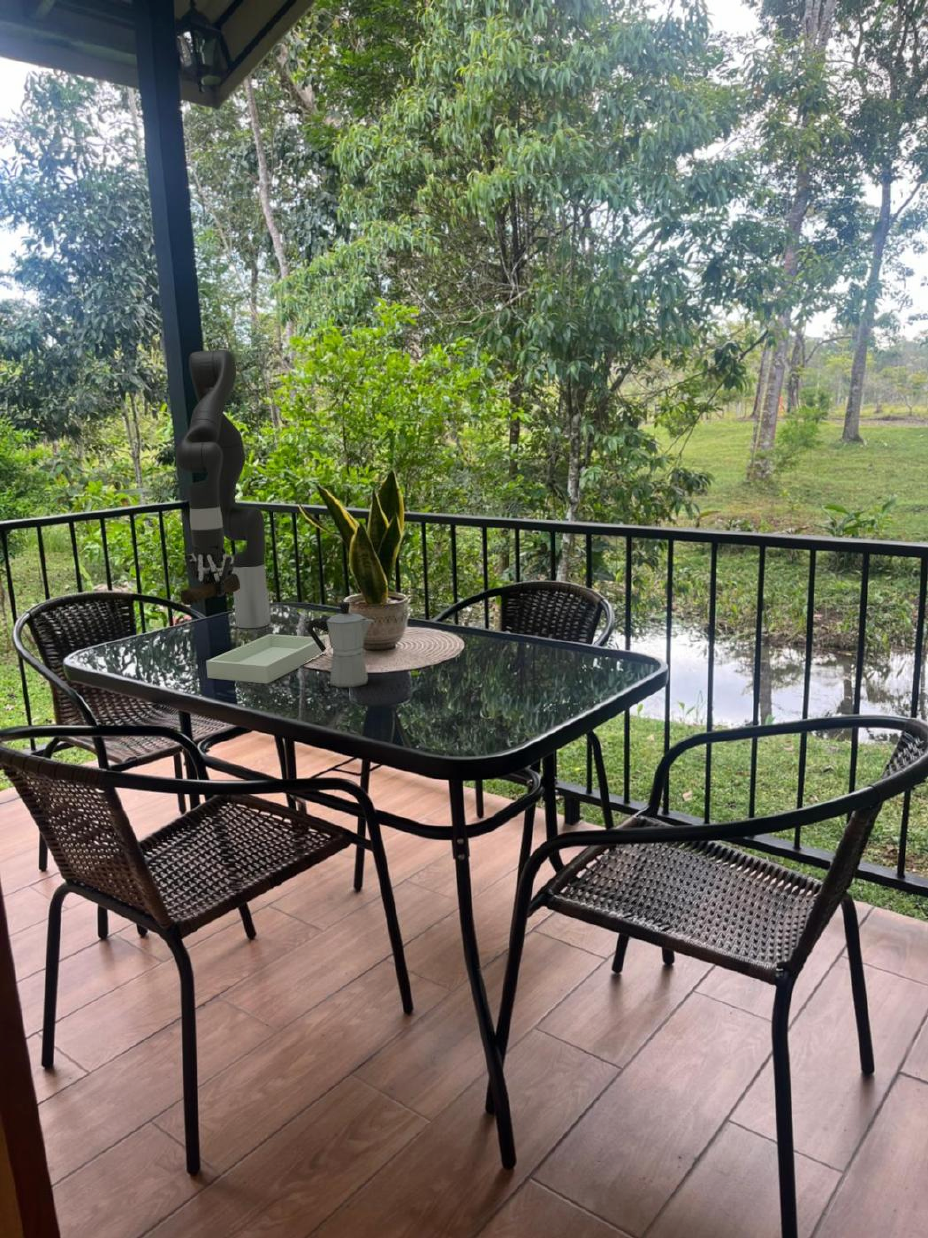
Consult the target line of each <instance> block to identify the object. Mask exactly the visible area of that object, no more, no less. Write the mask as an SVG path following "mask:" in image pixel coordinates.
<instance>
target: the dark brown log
mask: <svg viewBox="0 0 928 1238" xmlns="http://www.w3.org/2000/svg"><path fill="white" fill-rule="evenodd" d="M215 582H216V581H213V582H210V584H207V585H203V586H201V585H199V586H196V587H192V588H189V589H188V588H187V589H182V590H180V600H181V603H182V604H183V605H184V606H191V605H193V604H194V603H195V604H197V603H198V602H199V601H202V600H205V599H209V598H211V597H215V596H216V597H217V594H216V584H215ZM238 589H240V581H239V578H238V576H237V575H236V574H232V575H231V577H230V578H228V579H225V593H224V595H231V594H233V592H235V591H237V590H238Z"/></svg>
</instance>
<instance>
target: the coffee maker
mask: <svg viewBox="0 0 928 1238" xmlns="http://www.w3.org/2000/svg"><path fill="white" fill-rule="evenodd" d="M350 603H351V602H349V601H342V602H339V603H338V605H339V606H338V607H339V609H340V612H341V613H338V614H335V615H332V616H330V615H322V616H321V617H320V618H313V619H310V621H309V623H308V625H307V628H306V631H307V632H308V634H309V635H310V637H312V638H313V639H314V641H315V642H316V644H317V645H318V647H319V648H320V649H321V651H322V652H323V651H324V650H325V649H327V647H326V645H325V646H324V644H323V643H322V641H321V640H320V639H319V638H320V637H319V636H318V634H317V633H316V631H315V630H314V629H315V628H316V629H318V630H321V631H324V632H327V635H328V640H329V646H330V648H331V649H333V650H332V656H331V657H332V658H331V669H330V677H329V678H330V679H329V685H330V686H334V687H337V688H355V687H359V686H363V685H367V683H368V682H369V681H368V680H369V676H368V672H367V667H366V664H365V658H364V653H363V651H362V648H363V647H364V641H365V637H366V635H367V633H368V630H369V628H370V627H371V624H372V623H374V622H375V620H374V619H370V618H367V617H365V616H364V615H362V614H358V613H352V612H350V605H351V604H350Z"/></svg>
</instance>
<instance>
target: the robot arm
mask: <svg viewBox="0 0 928 1238" xmlns="http://www.w3.org/2000/svg"><path fill="white" fill-rule="evenodd" d="M188 362H189V363H188V365H189V373H190V376H191V377H190V378H191V381H192V384H193V389H194V391H195V392H194V393H195V395H196V399H197V404H196V406H195V407H194V409H193V411H192V415H191V419H190V423H189V428H188V430H187V432H186V433H185V435H184V437H183V438H182V440H181V442H180V443H179V445H178V448H177V450H176V456H175V457H176V464H177V466H178V467H179V469H180V470H181V471H183V472H185V473H190V474H192V473H207V476H206V477H205V479H204V480H202V481H197V482H193V483H191V484H190V485H188V487H187V491H188V492H187V494H188V503H189V523H190V524H189V525H190V532H191V542H192V546H193V548H194V549H193V552H192V553H191V554H187V555H185V556H184V560H185V562H186V565H187V567H188V569H189V572H190V574H191V576H192V578H193V579H198V581H200V586H203V585H207V584H210V583H211V581H210V579H209V578H210V571H211V573H212V574H213V576H214V579H215V581H214V582H215V584H216V594H217V595H216V597H224V596H225V594H224V593H225V579H228V578H230V577H231V575H232V574H236V575H237V576H238V578H239V581H240V589H238V590H237V591H235V592H233V593H232V594H233V601H234V602H233V604H234V615H235V624H236V625H235V626H236V628H240V629H256V628H262V627H266V626H268V625H270V622H272V618H271V607H270V595H269V594H270V593H269V589H268V588H267V587H268V585H267V578H266V576H267V575H266V563H265V556H266V540H265V539H266V536H265V535H266V534H265V532H266V531H265V528H266V527H265V518H264V514H263V512H262V511H261V510H260V508H258V507H253V506H252V507H251V506H250V507H249V506H248V507H247V506H241V507H240V506H237V503H236V495H235V494H236V487H237V484H238V481H239V479H240V476H241V475H242V472H243V469H244V467H245V463H246V454H245V447H244V443H243V439H242V435H241V433H240V431H239V430H238V428H237V426H236V425H235V424H234V423H233V422H232V421H231V420H230V419H229V418H228V417H227V415H225V413H224V411H225V408H226V406H227V404H228V401H229V399H230V396H231V395H232V394H231V393H232V391H233V388H234V386H235V383H236V378H237V365H236V361H235V358H234V355H233V354H232V352H231V351H229V350H227V349H215V350H202V351H195V352H192V353H191V354H190V355H189V359H188ZM225 539H227V540H228V541H233V542H235V541H237V542H238V541H240V542H241V541H242V542H245V541H246V544H245V545H246V546H245V548H244V549H243V550H242V551H240V552H237V553H234V554H232V555H229V554H228V553H227V552H226V550H225V548H224V545H225Z"/></svg>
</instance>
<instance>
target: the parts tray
mask: <svg viewBox="0 0 928 1238" xmlns="http://www.w3.org/2000/svg"><path fill="white" fill-rule="evenodd" d="M319 639H320V640H321V641H322V643H323V644H324V646H325V647H326V637H319ZM326 649H327V648H326ZM326 649H325V650H326ZM325 650H324V651H325ZM324 651H323V652H324ZM326 651H327V650H326ZM321 653H322V651H321V649H320V648H319V647H318V645H317V644H316V642H315V641H314V639H313V638H312V637H311V636H301V635H288V634H273V633H270V634H266V635H264V636H262V637H260V638H257V639H254V640H253V641H249V642H247V643H245V644H243V645H240V646H238V647H236V648H234V649H231V650H229V651H226V652H223V653H222V654H220V655H217V656H215V657H213V658H210V659H207V660H206V661H205V664H206V673H207V674H206V675H207V679H216V680H226V681H236V682H245V683H247V682H248V683H258V684H270V683H272V682H273V681H276V680H277V679H279V678H281V677H283V676H285V675H287V674H289V673H291V672H293V671H295V670H296V669H298V668H301V667H302V666H301V665H303V664H304V663H306V662H307V661H308V660H310V659H311V658H314V657H316V656H317V655H319V654H321ZM300 666H301V667H300ZM303 666H304V665H303Z"/></svg>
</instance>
